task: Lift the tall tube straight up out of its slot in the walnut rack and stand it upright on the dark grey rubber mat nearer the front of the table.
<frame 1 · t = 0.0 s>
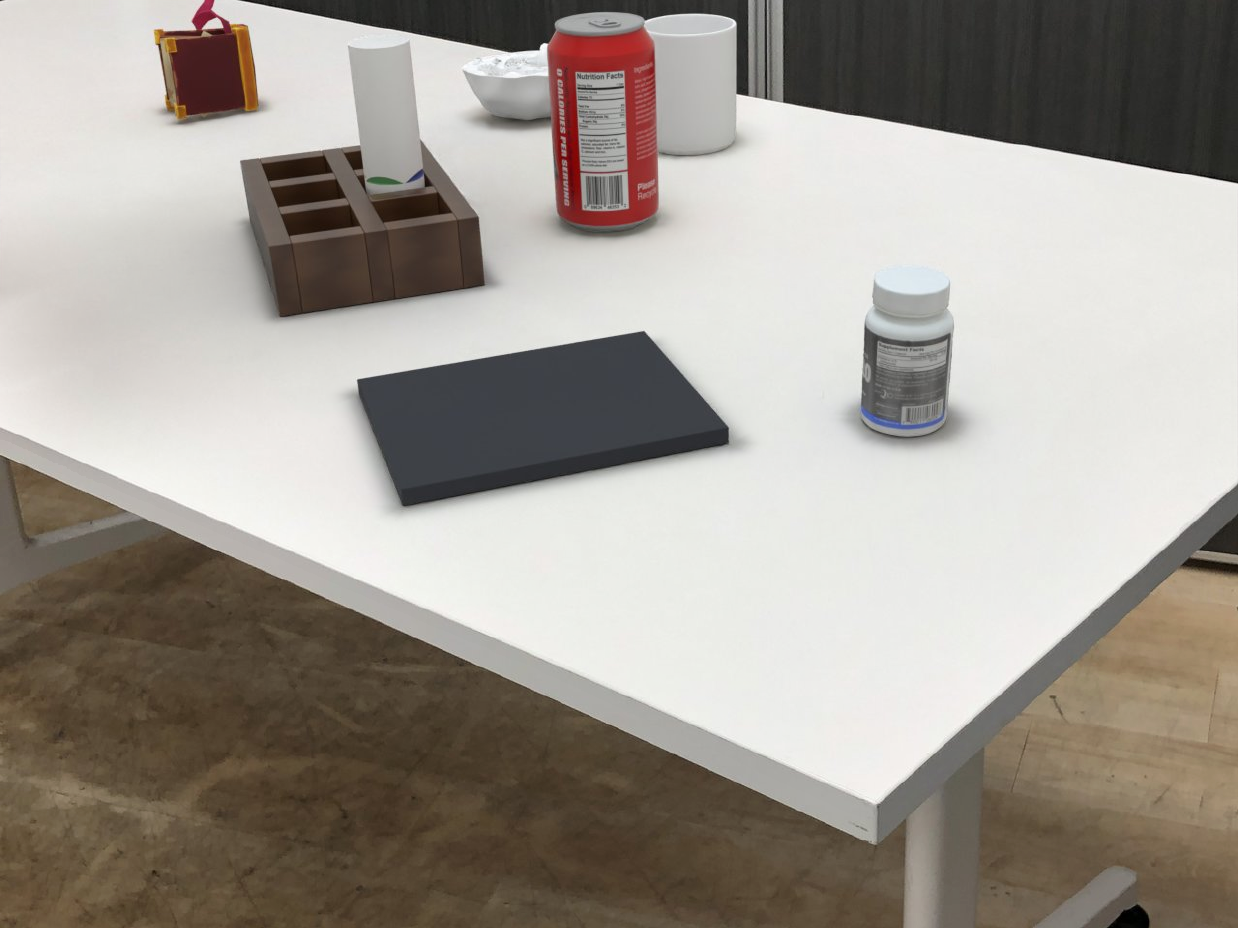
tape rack: (360, 251, 107), on the table
mat: (535, 417, 82), on the table
pill bottle: (902, 422, 80), on the table
soda can: (608, 222, 111), on the table
tube: (402, 248, 107), resting in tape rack
mug: (671, 148, 127), on the table
cell model: (528, 118, 137), on the table
book monster: (214, 107, 145), on the table
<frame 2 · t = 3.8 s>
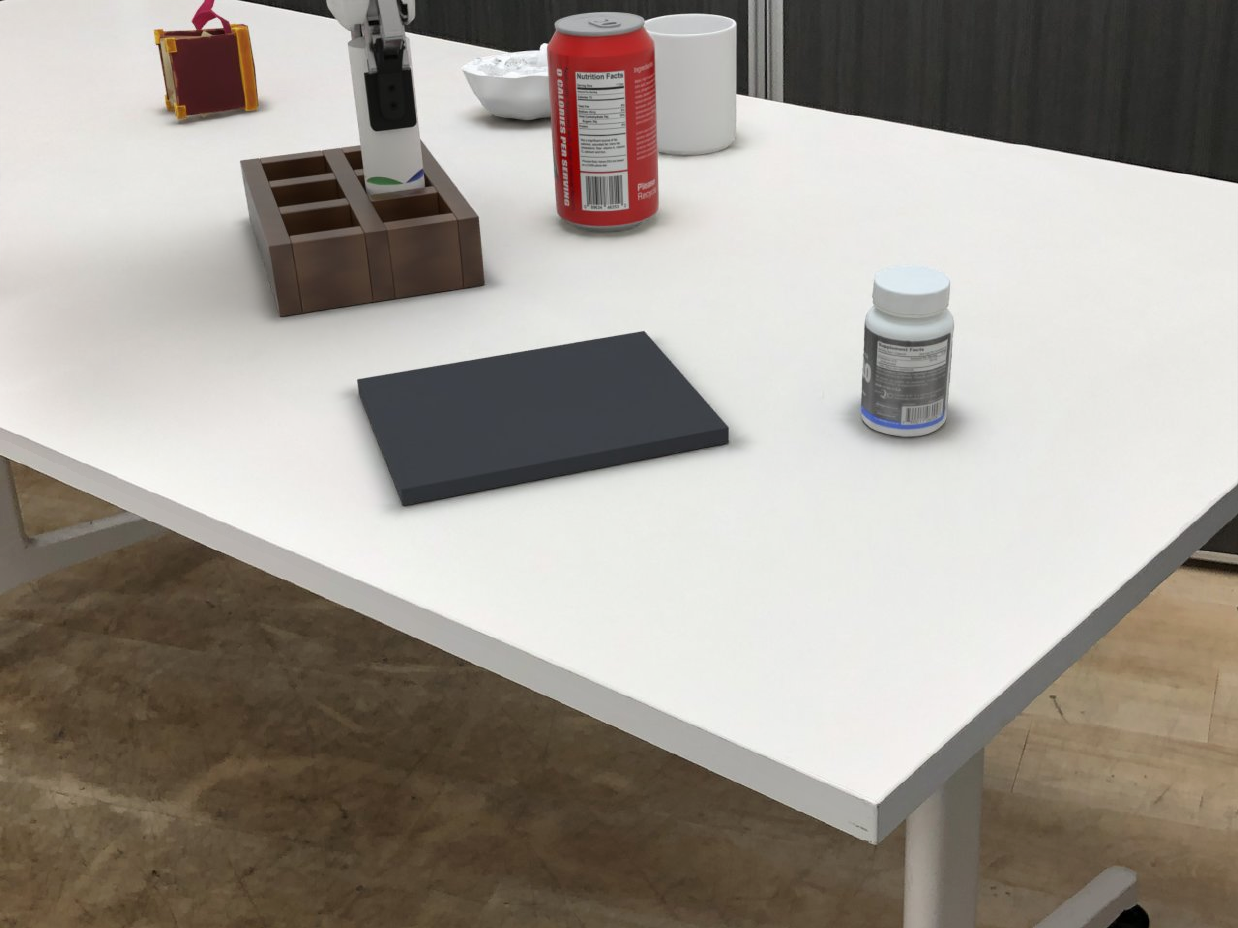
hand: (387, 116, 103), 10 cm above the table, tool pointing down, fingers closed on tube, 4 cm apart
tube: (402, 248, 107), resting in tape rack, touching gripper
everything else where it was.
when the fingers open (11 cm above the table, at t = 12.0 s): tube stays where it is, resting on mat.
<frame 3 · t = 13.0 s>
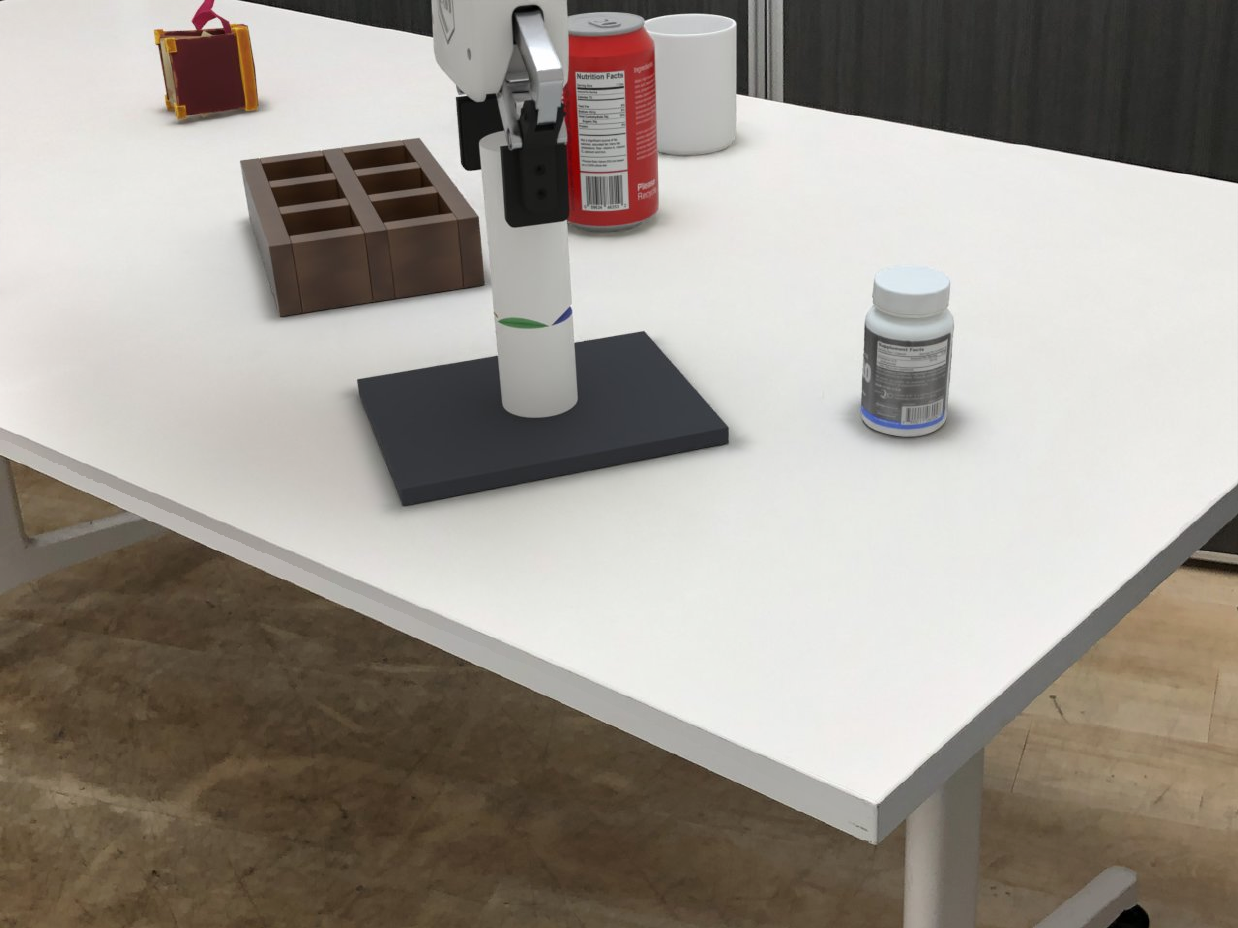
hand: (512, 193, 75), 13 cm above the table, tool pointing down, fingers open, 9 cm apart
tube: (540, 403, 82), point 1 cm above the table, touching mat
everything else where it was.
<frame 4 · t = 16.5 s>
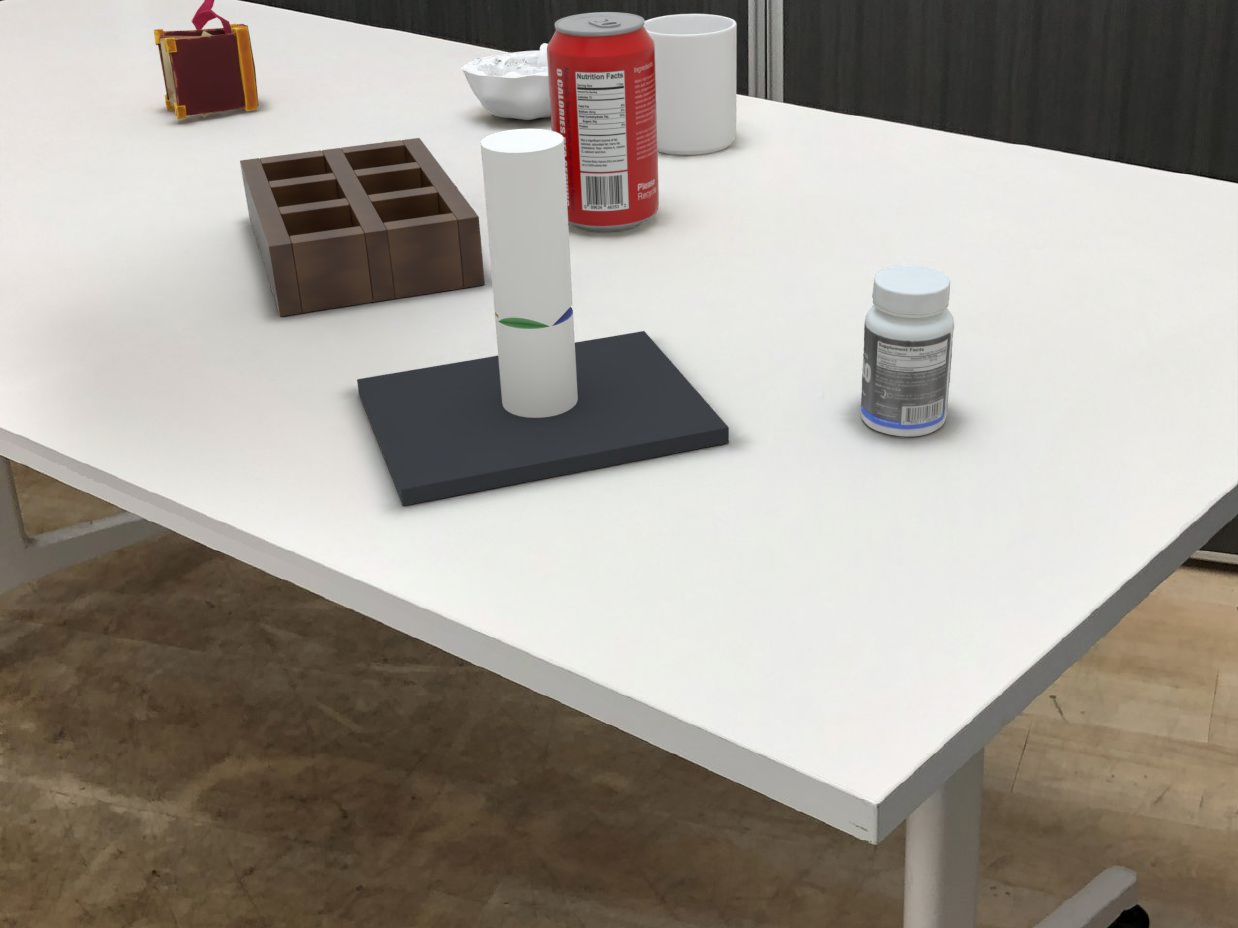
nothing on the table moved.
at the end: tube inside the target area on the mat (0.3 cm from its centre), point 0.8 cm above the mat's base; tube tilted 0°; the gripper is holding nothing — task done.
